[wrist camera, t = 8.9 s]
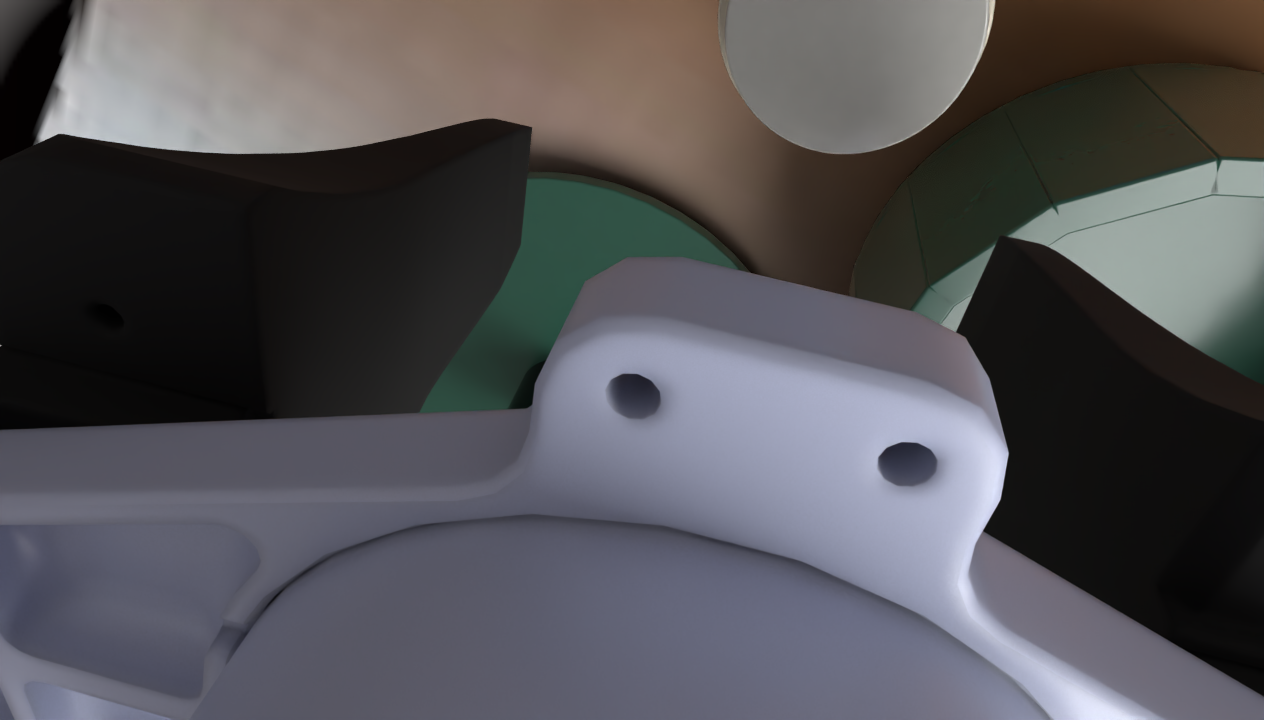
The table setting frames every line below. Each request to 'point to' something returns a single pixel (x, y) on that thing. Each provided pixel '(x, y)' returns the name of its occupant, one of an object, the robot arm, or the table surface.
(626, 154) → the table surface
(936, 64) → the salt shaker
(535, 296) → the lid
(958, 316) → the pot
